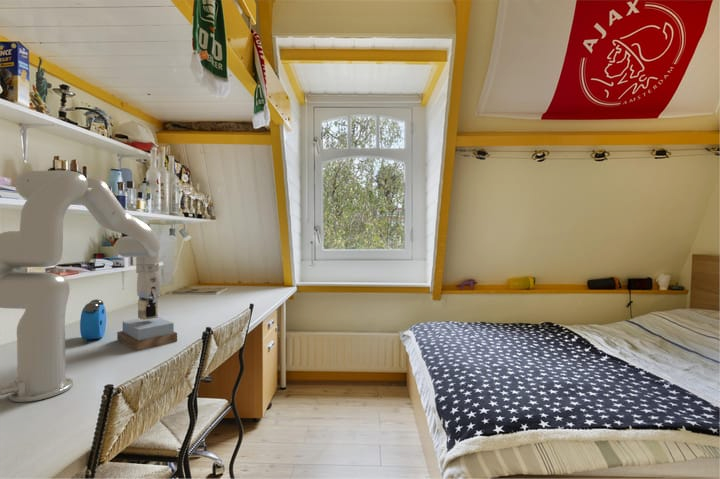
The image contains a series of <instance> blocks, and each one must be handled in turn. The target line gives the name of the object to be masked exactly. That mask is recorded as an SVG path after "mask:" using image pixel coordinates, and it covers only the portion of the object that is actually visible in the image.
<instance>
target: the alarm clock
mask: <svg viewBox="0 0 720 479" xmlns="http://www.w3.org/2000/svg"><path fill="white" fill-rule="evenodd" d="M106 328H107V311H106V307H105V304H104V301H102V300H101V299H98V298H97V299H93V300H91V301H90V302H87V303H86V304H85V305H84V307H83V308H82V310H81V313H80V321H79V331H80V337H81V338H82V340H84V342H87V340H88V341H89V340H97V339H102V338H103V337H104V336H105V333H106Z"/></svg>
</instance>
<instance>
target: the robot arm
mask: <svg viewBox="0 0 720 479" xmlns="http://www.w3.org/2000/svg"><path fill="white" fill-rule="evenodd" d="M14 187H15V190H16V192H17V193H18V194H19V196H21V197H22V198H23V199H25V200H26V201H25V203H24V204H23V206H22V209H21V211H20V219H19V220H20V222H19V230H16V231H15V230H14V231H13V230H10V231H9V230H8V231H4V232H1V233H0V309H17V310H18V309H19V310H24V312H23V314H22V316H21V317H20V319H19V321H18V323H17V326H16V352H17V353H16V355H17V356H16V357H17V358H16V361H17V362H16V364H17V365H16V366H17V368H16V369H17V371H16V372H17V373H16V374H17V377H14V378H13V381H9V382H8V383H7V384H2V385H0V396H5V395H8V399H9V400H10V401H12V402H16V403H27V402H35V401H40V400H44V399H49V398H53V397H55V396H57V395H61V394H63V393H65V392H67V391H68V390H70V389H71V388H72V387H73V385H74V381H73V379H71V378H70V377H67V375H66V368H67V367H66V309H67V305H68V304H67V303H68V300H69V295H70V289H71V288H70V284H69V281H67V279H66V278H65V277H64V276H62V275H59V274H58V273H52V272H45V271H44V272H43V271H42V272H41V271H40V272H39V271H38V272H36V271H35V272H33V271H32V272H27V268H48V267H54V266H56V265H57V264H58V263H60V261H61V260H62V258H63V250H64V249H63V248H64V220H65V214H66V212H67V210H68V209H69V207H70V206H73V205H74V206H75V205H78V206H79V205H80V206H81V205H82V206H84V207H85V208H86V209H87V211H89V213H90V214H91V215H92V217H93V218H94V220H96V221H97V223H98V224H99V226H101V227H103V228H105V229H107V230H110V231H112V232H116V233H118V234H122V235H125V236H121V237H120V238H118V239H117V240H116V241H115V243H114V246H113V247H114V251H115V252H116V254H117V255H119V256H121V257H125V258H135V273H136V274H137V276H136V278H137V280H136V294H137V297H138V300H141V299H146V300H147V307H146V317H152V316H155V315H156V302H157V300H158V298H160V297H161V283H160V282H161V281H160V275H159V271H160V270H159V269H160V268H159V266H160V265H159V263H160V261H159V258H160V256H159V255H160V254H159V253H160V247H161V244H160V240H159V238H158V237H157V236H156V234H155V232H154V231H153V229H152V228H151V227H150V226H149V225H148V224H146V223H145V222H144V221H142V220H140V219H139V218H137V217H136V216H134V215H132V214H130V213H128V212H127V211H126V210H125V209H124V208H123V206H122V204H121V203H120V201H119V200H118V199H117V198H116V196H115V195H114V192H113V191H112V189H111V188H110V186H108V184H107V183H106V182H105V181H104V180H102V179H100V178H96V177H86V176H85V175H84V174H82V173H80V172H77V171H72V170H28V171H25V172H22V173H20V174H19V175H18V176H17V177H16V179H15V181H14ZM149 300H151V301H149Z"/></svg>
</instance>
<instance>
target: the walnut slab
mask: <svg viewBox="0 0 720 479" xmlns="http://www.w3.org/2000/svg"><path fill="white" fill-rule="evenodd" d="M116 336H117V337H116V339H117V340H116V341H117V342H119V343H121V344H123V345H125V346H127V347H129V348H131V349H133V350H134V351H138V352H139V351H142V350H146V349H151V348H155V347H159V346H160V347H161V346H163V345H167V344H173V343H176V342H178V333H177V332H176V331H174V333H173V334H168V335H163V336H159V337H154V338H149V339H144V340H139V341H138V340H137V339H135V338H133V337H131V336H129V335H128V334H126V333H124V332H123V330H120V331H117V332H116Z"/></svg>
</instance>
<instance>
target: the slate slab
mask: <svg viewBox="0 0 720 479" xmlns="http://www.w3.org/2000/svg"><path fill="white" fill-rule="evenodd" d="M174 329H175V328H174V322H172V321H169V320H168V319H164V318H162V317H160V316H158V317H157V318H152V319H146V320H142V319H140V318H136V319H135V318H134V319H130V320H123V321H122V331H123V332H124V333H126V334H128V335H129V336H131V337H133V338H135V339H137V340H138V341H139V340H144V339H149V338H154V337H159V336H163V335H168V334H173V333H174V332H175V330H174Z"/></svg>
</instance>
